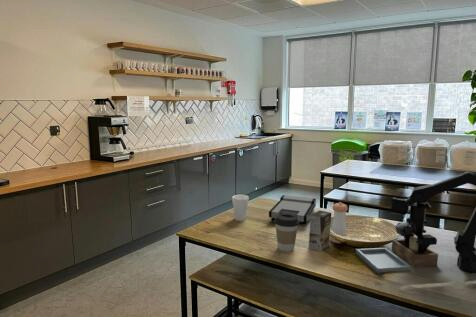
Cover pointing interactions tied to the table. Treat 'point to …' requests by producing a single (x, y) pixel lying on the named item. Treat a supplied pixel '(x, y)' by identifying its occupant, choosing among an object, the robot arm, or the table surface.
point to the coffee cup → (286, 231)
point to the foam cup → (240, 206)
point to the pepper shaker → (339, 220)
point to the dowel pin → (413, 244)
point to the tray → (382, 260)
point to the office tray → (294, 208)
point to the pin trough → (414, 255)
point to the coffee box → (319, 230)
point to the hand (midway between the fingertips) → (413, 252)
